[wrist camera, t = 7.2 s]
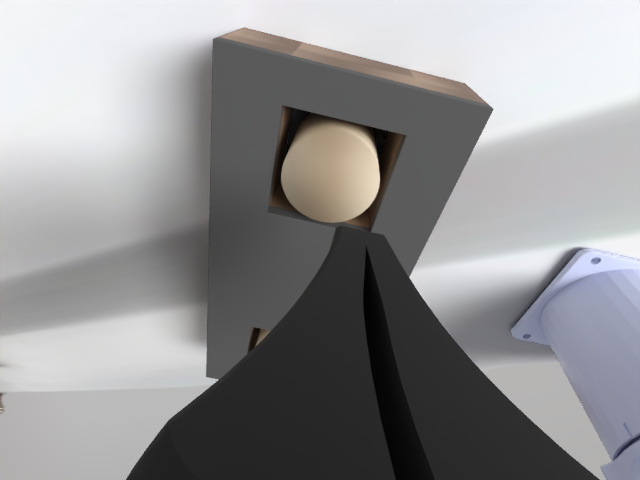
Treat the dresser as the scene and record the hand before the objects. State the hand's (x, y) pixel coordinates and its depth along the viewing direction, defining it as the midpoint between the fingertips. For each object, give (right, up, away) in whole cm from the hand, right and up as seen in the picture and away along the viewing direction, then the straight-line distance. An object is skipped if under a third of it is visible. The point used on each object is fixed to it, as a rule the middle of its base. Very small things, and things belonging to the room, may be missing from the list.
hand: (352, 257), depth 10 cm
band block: (-1, 0, +12) cm, 12 cm away
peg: (0, +5, +7) cm, 9 cm away
